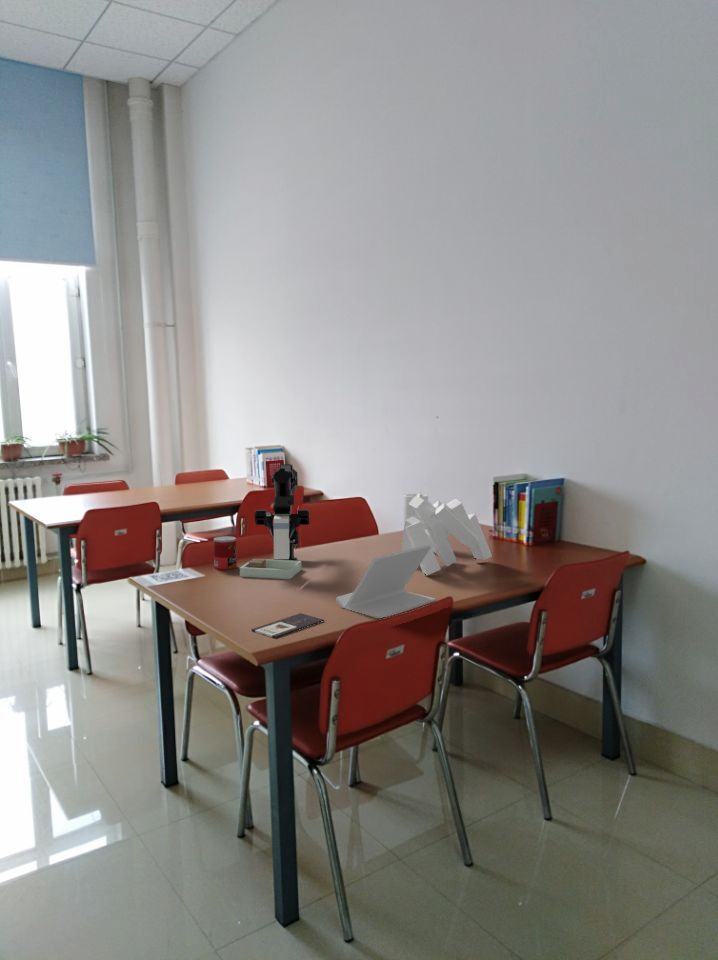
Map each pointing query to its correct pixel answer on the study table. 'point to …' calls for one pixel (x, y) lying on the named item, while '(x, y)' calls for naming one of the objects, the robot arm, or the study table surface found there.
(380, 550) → the study table surface
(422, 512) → the white geometric sculpture
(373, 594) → the tablet stand
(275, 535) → the carton
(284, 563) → the pale green tray
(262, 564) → the walnut block
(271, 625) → the chocolate bar
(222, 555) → the canned food
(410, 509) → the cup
